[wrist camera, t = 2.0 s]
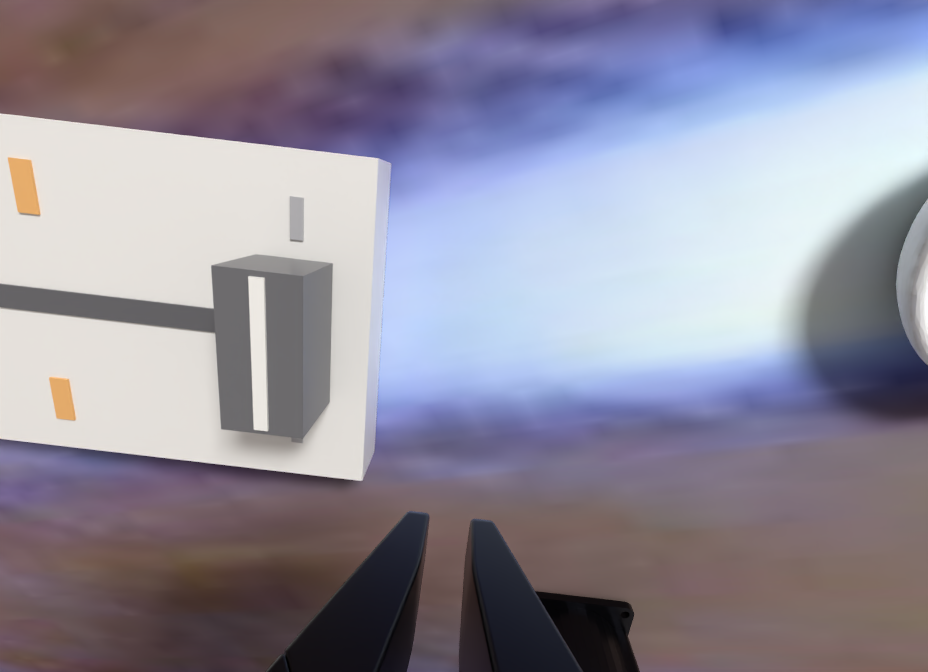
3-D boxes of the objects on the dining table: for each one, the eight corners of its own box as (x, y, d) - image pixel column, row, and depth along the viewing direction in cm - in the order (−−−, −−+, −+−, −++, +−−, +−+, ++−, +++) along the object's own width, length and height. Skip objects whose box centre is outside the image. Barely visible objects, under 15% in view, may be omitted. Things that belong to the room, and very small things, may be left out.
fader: (332, 263, 17) (302, 276, 14) (329, 402, 19) (302, 440, 16) (256, 254, 17) (209, 265, 14) (260, 394, 19) (219, 430, 16)
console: (391, 163, 19) (377, 158, 16) (374, 451, 23) (361, 482, 20) (-81, 107, 18) (-168, 93, 16) (-11, 406, 23) (-71, 432, 20)
